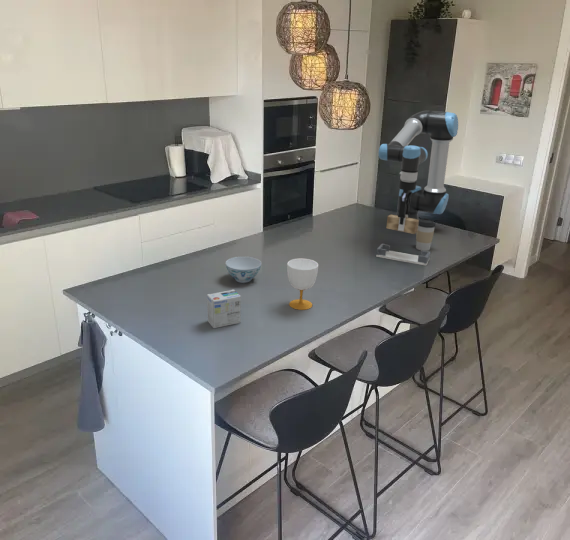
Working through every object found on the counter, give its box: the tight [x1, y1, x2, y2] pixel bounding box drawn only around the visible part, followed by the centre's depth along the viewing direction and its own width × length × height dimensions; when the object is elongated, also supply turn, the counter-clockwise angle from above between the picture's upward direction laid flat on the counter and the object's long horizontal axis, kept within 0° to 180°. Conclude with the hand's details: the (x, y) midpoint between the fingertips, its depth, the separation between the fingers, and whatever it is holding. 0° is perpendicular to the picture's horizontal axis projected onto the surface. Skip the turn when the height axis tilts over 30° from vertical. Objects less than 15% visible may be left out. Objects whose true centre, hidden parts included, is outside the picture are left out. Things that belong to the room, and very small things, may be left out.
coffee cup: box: [415, 217, 436, 252], centre depth 271 cm, size 9×9×15 cm
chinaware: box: [225, 256, 262, 284], centre depth 227 cm, size 15×15×8 cm
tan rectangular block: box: [386, 214, 420, 235], centre depth 254 cm, size 14×4×6 cm, turn 59°
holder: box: [375, 243, 432, 266], centre depth 259 cm, size 9×24×4 cm, turn 66°
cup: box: [286, 258, 319, 311], centre depth 205 cm, size 12×12×17 cm
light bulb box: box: [206, 289, 242, 329], centre depth 191 cm, size 11×7×11 cm, turn 118°
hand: (402, 229), depth 255 cm, fingers closed on tan rectangular block, 4 cm apart
